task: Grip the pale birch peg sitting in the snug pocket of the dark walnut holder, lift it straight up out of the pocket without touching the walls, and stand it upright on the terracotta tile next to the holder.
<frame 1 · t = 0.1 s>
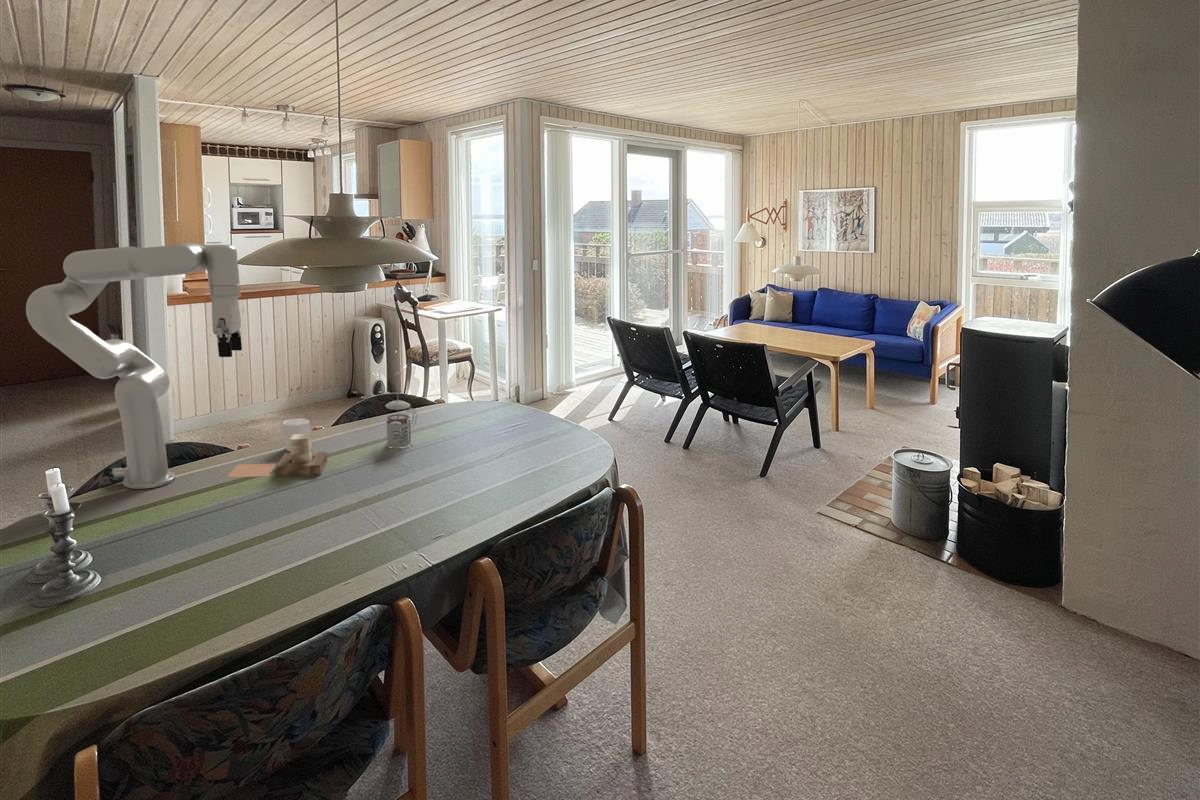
hand: (230, 353, 200), 37 cm above the table, tool pointing down, fingers open, 9 cm apart
walnut holder: (303, 471, 216), on the table
white cup: (298, 451, 234), on the table
terracotta tile: (252, 473, 213), on the table
birch peg: (302, 468, 215), point 1 cm above the table, touching walnut holder
french press: (401, 444, 245), on the table
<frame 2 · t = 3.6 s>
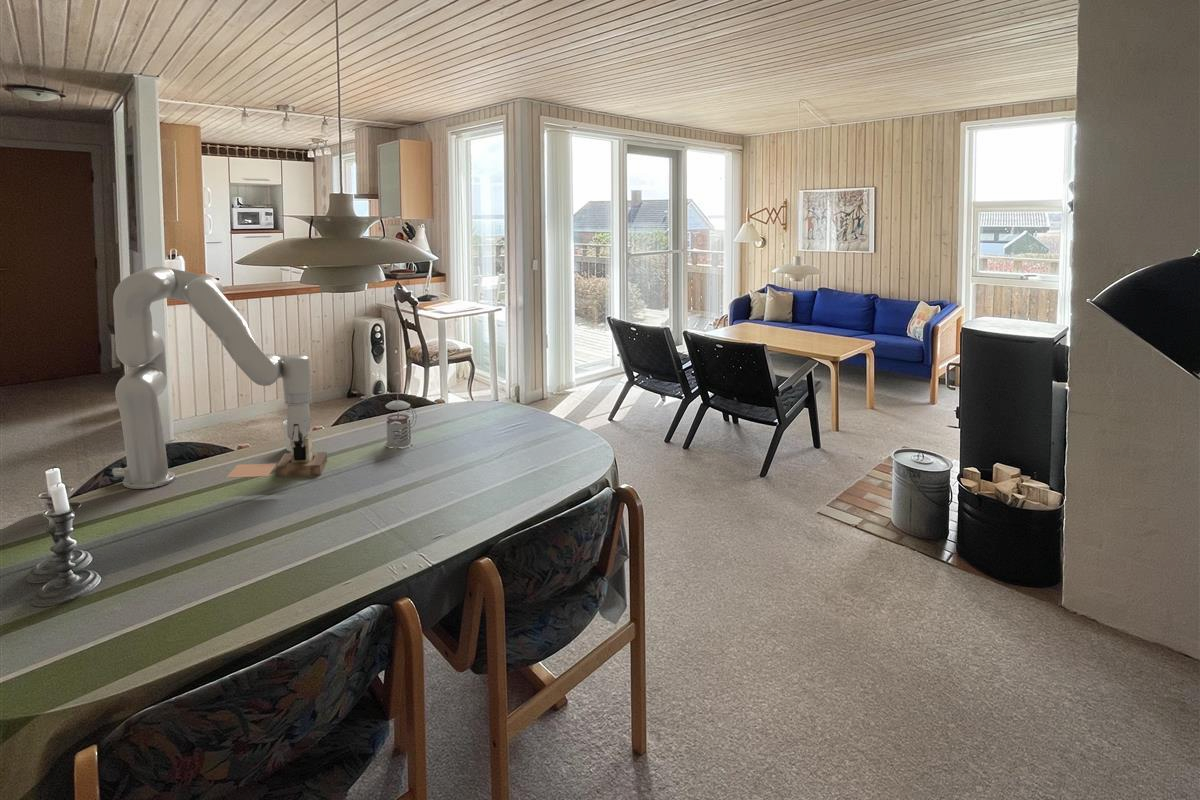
hand: (302, 456, 214), 5 cm above the table, tool pointing down, fingers closed on birch peg, 4 cm apart
birch peg: (302, 468, 215), point 1 cm above the table, touching gripper, walnut holder
everything else where it was.
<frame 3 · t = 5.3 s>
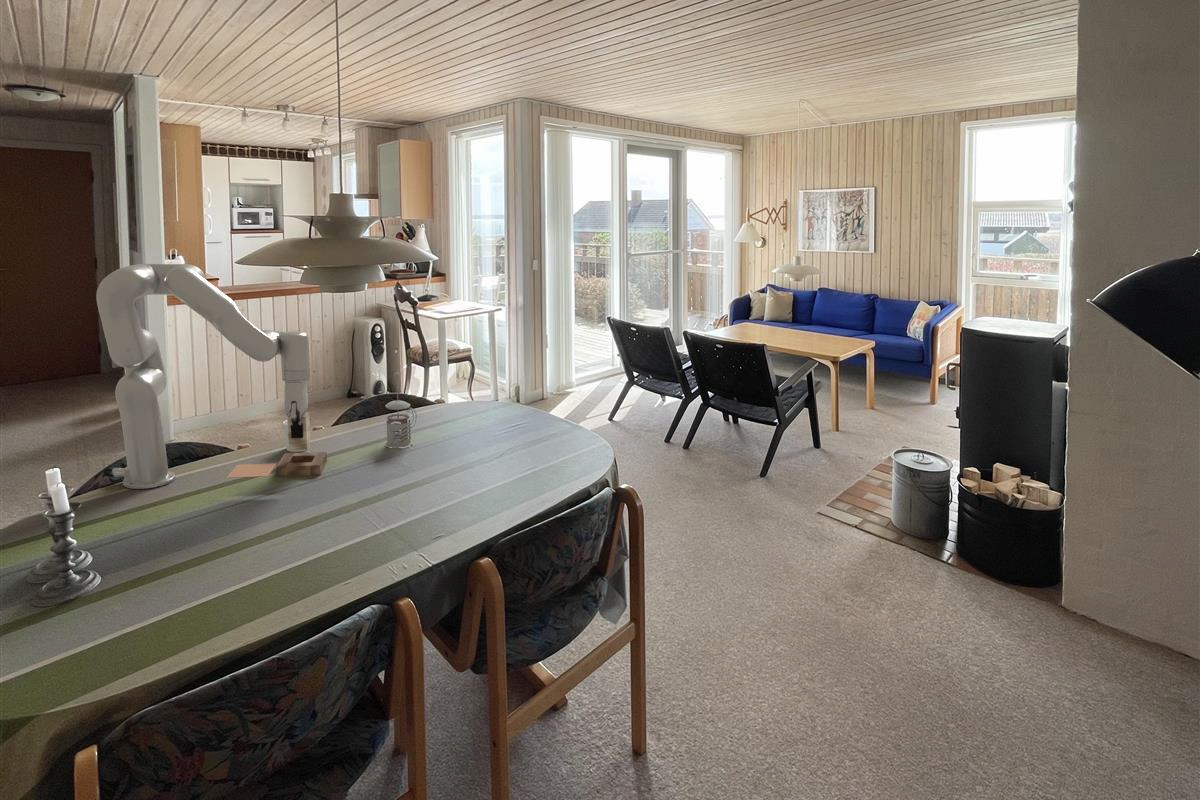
hand: (299, 434, 213), 12 cm above the table, tool pointing down, fingers closed on birch peg, 4 cm apart
birch peg: (299, 447, 214), point 8 cm above the table, touching gripper
everything else where it was.
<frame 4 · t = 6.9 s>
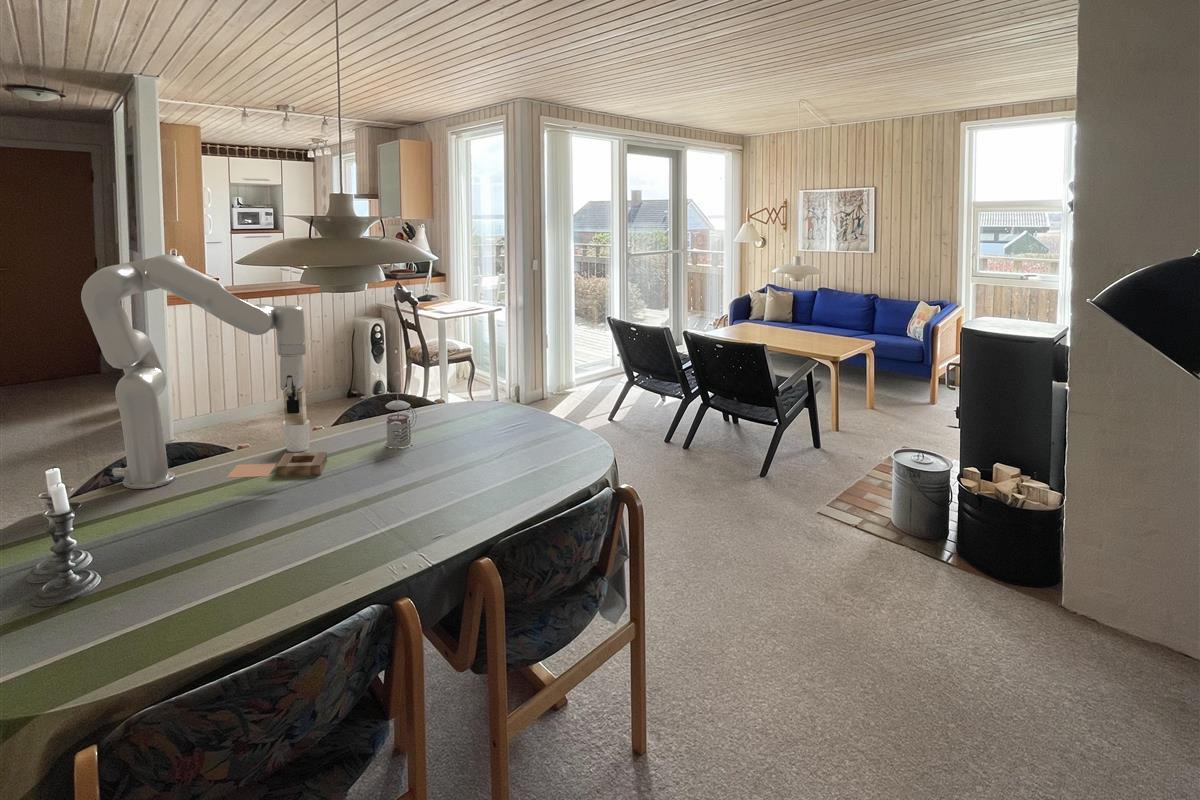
hand: (295, 409, 211), 19 cm above the table, tool pointing down, fingers closed on birch peg, 4 cm apart
birch peg: (296, 422, 212), point 15 cm above the table, touching gripper
everything else where it was.
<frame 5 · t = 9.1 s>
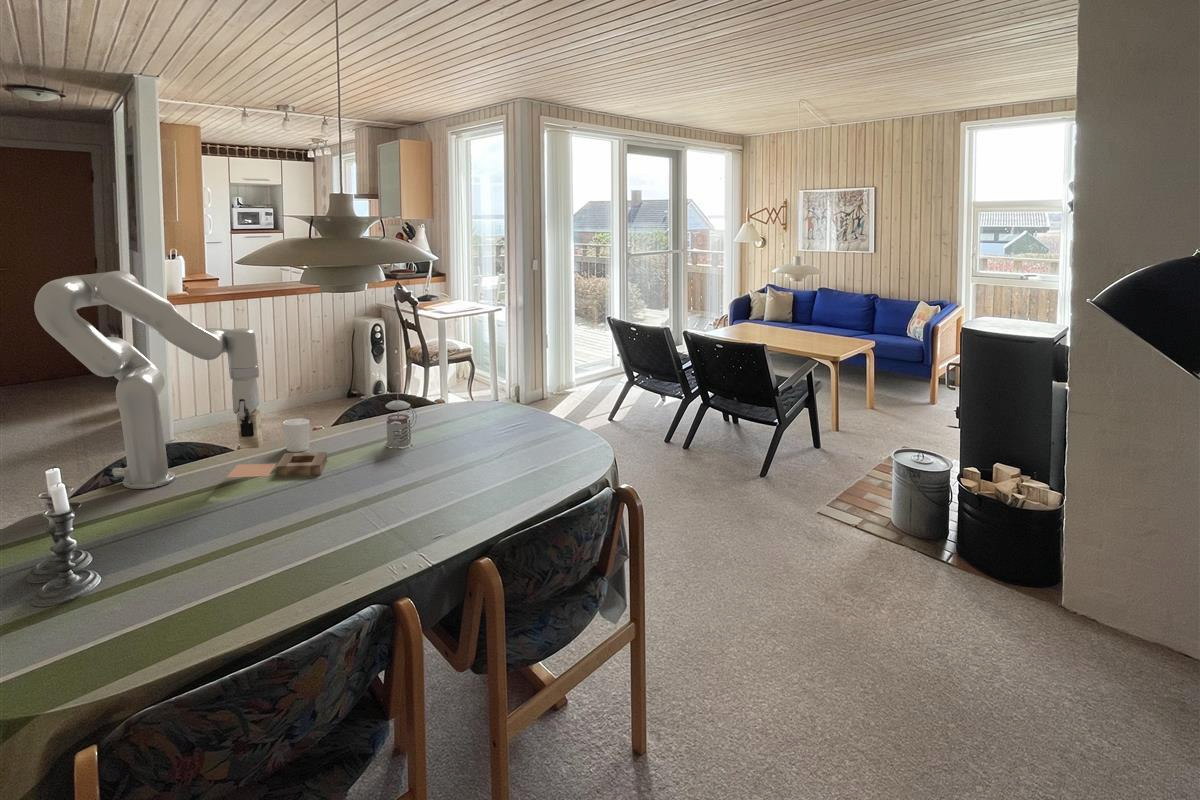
hand: (250, 432, 210), 12 cm above the table, tool pointing down, fingers closed on birch peg, 4 cm apart
birch peg: (251, 445, 211), point 9 cm above the table, touching gripper
everything else where it was.
when the fingers open (6 cm above the table, at t = 10.6 s): birch peg drops 1 cm, resting on terracotta tile.
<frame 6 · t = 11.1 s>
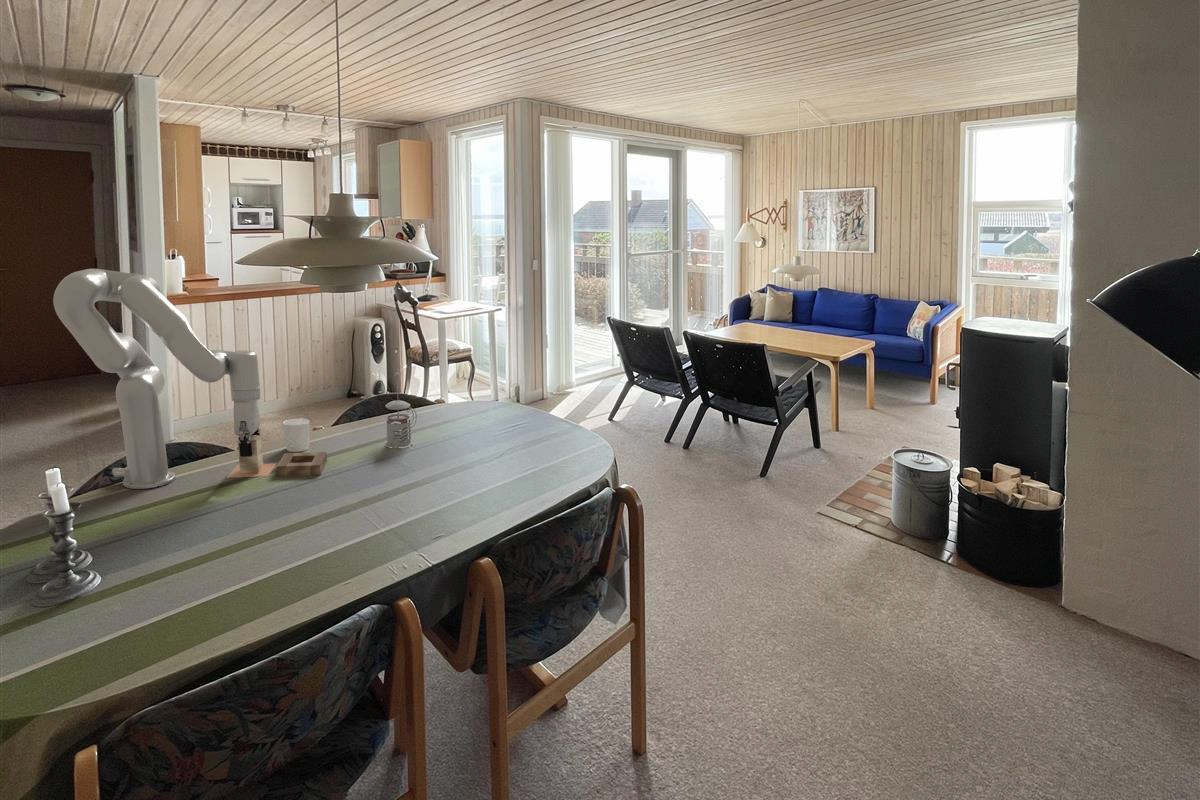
hand: (250, 450, 211), 7 cm above the table, tool pointing down, fingers open, 9 cm apart
birch peg: (252, 470, 212), point 1 cm above the table, touching terracotta tile
everything else where it was.
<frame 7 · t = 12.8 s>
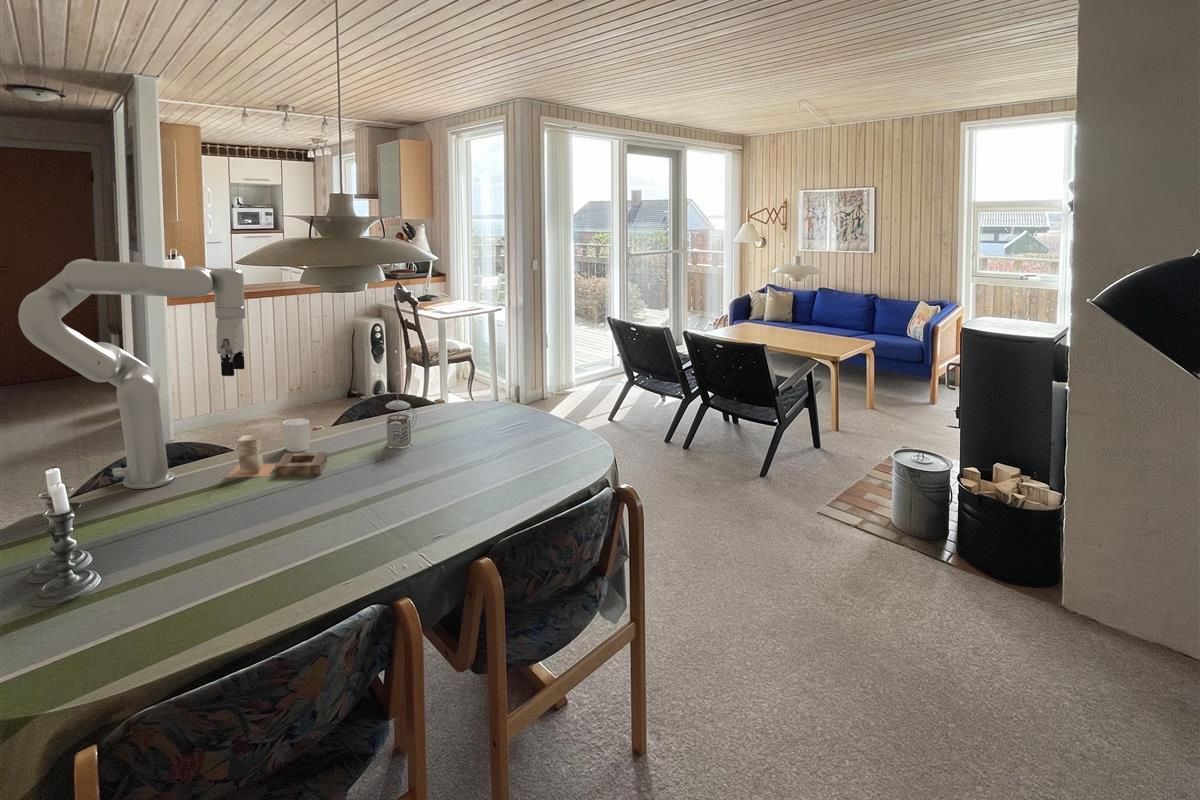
hand: (233, 372, 207), 30 cm above the table, tool pointing down, fingers open, 9 cm apart
nothing on the table moved.
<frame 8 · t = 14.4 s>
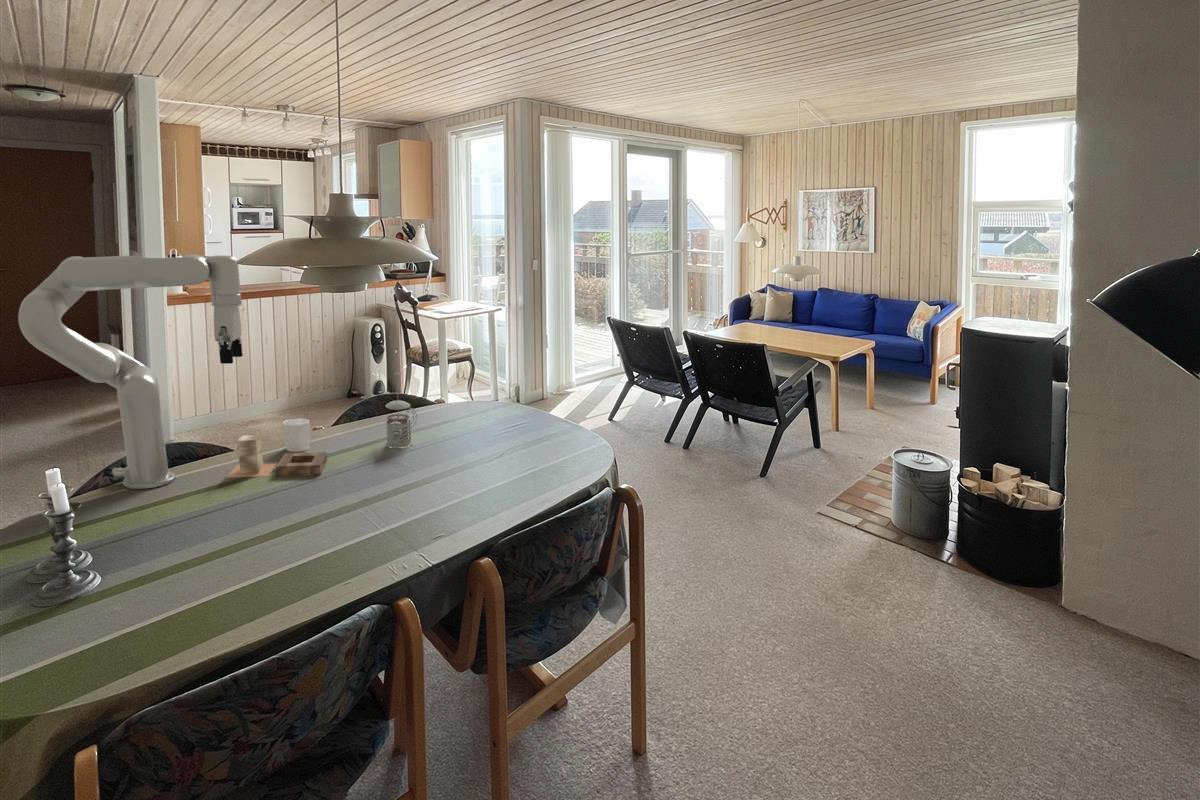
hand: (231, 359, 207), 33 cm above the table, tool pointing down, fingers open, 9 cm apart
nothing on the table moved.
at the end: birch peg 0.1 cm off-centre on the terracotta tile, point 1.0 cm above the terracotta tile's base; birch peg tilted 0°; birch peg touching terracotta tile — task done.
